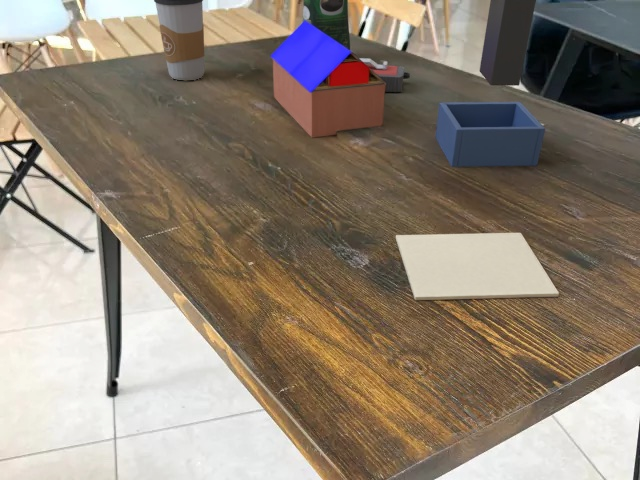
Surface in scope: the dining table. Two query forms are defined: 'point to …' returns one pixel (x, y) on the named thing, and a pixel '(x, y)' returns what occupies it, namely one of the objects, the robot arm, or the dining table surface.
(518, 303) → the dining table surface
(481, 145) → the box
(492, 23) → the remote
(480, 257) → the mat
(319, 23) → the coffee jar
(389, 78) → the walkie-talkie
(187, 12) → the coffee cup
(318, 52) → the house
